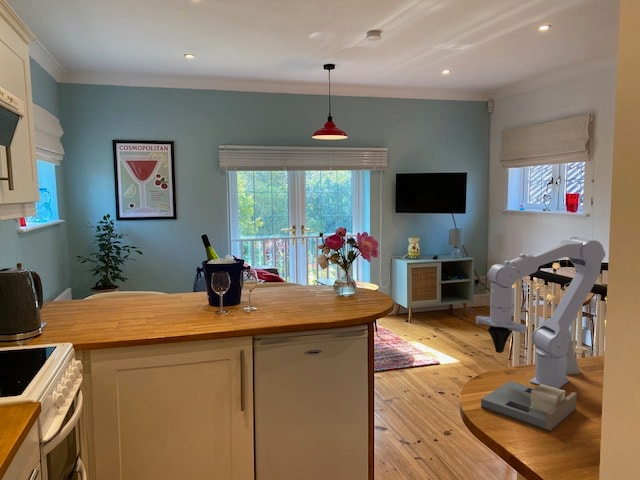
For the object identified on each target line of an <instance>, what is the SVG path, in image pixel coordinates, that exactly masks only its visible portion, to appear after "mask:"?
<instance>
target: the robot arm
mask: <svg viewBox="0 0 640 480" xmlns="http://www.w3.org/2000/svg"><path fill="white" fill-rule="evenodd" d="M605 257H606V251H605V249H604V247H603V244H602V243H600V241H598V240H594V239H593V240H592V239H586V238H579V237H578V236H571V237H570V238H568V239H563V240H561V241H560V242H559V243H557V244H555V245H553V246H551V247H549V248H546V249H544V250H541V251H540V252H538V253H536V254H534V255H532V254H530V253H520V254H518V257H515V258H513V259H511V260H504V261H503V263H496V264H493V265H491V267H490V268H489V270H488V272H487V273H486V277H487V279H488V281H489V283H490V294H489V295H490V298H489V299H490V300H489V302H490V306H489V316H482V315H477V316H476V317H475V324H478V325H479V324H482V325H486V326H489V328H488V329H487V331H488V333H489V334H490V337H491V340H492V343H493V346H494V350H495V353H498V354H502V353H503V352H504V350H505V347H506V344H507V341H508V339H509V337H510V335H511V333H512V332H517V333H519V334H523V335H524V334H526V333H527V332H528V331H527V328H528V325H527V324H526V325H525V324H522V323H519V322H516V321H513V320H512V302H513V301H512V299H513V295H512V292H513V286H514V285H515V283H516V281H517V280H521V279H522V278H525V277H527V276H530V275H532V274H535V273H536V272H538V269H539V267H540V266H543V265H546V264H549V263H552V262H555V261H558V260H561V259H563V258H567V259H568V260H569V261H570V262H571V263H572V264H573V266H574V268H575V271H576V272H575V274H574V277H573V278H572V280H571V282H570V283H569V284H568V287H567V289H566V290H565V292H564V293H563V296H562V298H561V299H560V301H559V302H558V305H557V306H556V307H555V309H554V311H553V313H552V314H551V317H550V318H549V319H546V320H544V321H542V322H541V324H540V325H539V326H538V327H537V328H536V329H534V330H533V332H532V334H531V341H532V344H533V345H534V346H535V373H534V377H533V378H531V379H530V380H529V383H531V384H534V385H538V386H539V385H540V384H543V385H547V386H550V387H554V388H557V389H560V388H562V387H564V385H565V384H567V383H568V382H569V381H571V379H570V378H567V374H566V370H567V359H566V356H565V354H566V352H567V351H568V348H569V341H570V339H573V338H572V333H571V331H570V327H571V326H572V324H573V323H574V320H575V319H576V317H577V315H578V313H579V311H580V310H581V308H582V307H583V305H584V302H585V301H586V300H587V298H588V297H589V294H590V292H591V291H592V289H593V287H594V285H595V284H596V282H597V280H598V279H599V277H600V274H601V268H602V262H603V260H604V258H605Z"/></svg>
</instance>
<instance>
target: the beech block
mask: <svg viewBox="0 0 640 480" xmlns="http://www.w3.org/2000/svg"><path fill="white" fill-rule="evenodd" d="M534 388H535V389H533V390H532V391H531V406H532V407H535V408H538V409H541V410H545V411H548V412H549V411H550V410H551V409H552V408H554V407H555V406H556V405H557V404H558V403H560V402H561V401H562V400H563V399H565V397H566V390H564V389H560V388H559V389H557V388H554V387H550V386H547V385H543V384H540V385H538V386H536V387H534Z"/></svg>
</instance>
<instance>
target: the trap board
mask: <svg viewBox="0 0 640 480" xmlns="http://www.w3.org/2000/svg"><path fill="white" fill-rule="evenodd" d="M535 388H536V387H532V386H529V385H525V384H522V383H520V382H515V381H512V380H509V381H507V382H505V383H504V384H502V385H501V386H499V387H497V388H495V390H493V391H491V392H490V393H488V394H486V395H484V396H483V397H481V399H480V401H481V402H480V408H481V409H484V410H487V411H489V412H492V413H496V414H497V415H501V416H504V417H506V418H510V419H512V420H514V421H517V422H521V423H523V424H525V425H529V426H531V427H535V428H537V429H540V430H543V431H545V432H549V433H551V432H553V431H554V430H555V429H556V428H557V427H558V426H559V425H561V424H562V422H564V421H565V420H566V419H567V418H569V417H570V416H571V415H572V414H573V413H574V412H576V410H577V401H578V400H577V397H578V396H577V395H578V394H577V392H574V391H572V392H571V393H569V394H568V395H567V396H565V399H563V400H562V401H561V402H560V403H558V404H557V405H556V406H555V407H554V408H552V409H551V410H550V411H549V412H548V411H545V410H541V409H538V408H535V407H532V406H531V391H532V390H533V389H535Z"/></svg>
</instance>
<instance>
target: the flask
mask: <svg viewBox="0 0 640 480" xmlns="http://www.w3.org/2000/svg"><path fill="white" fill-rule="evenodd" d="M574 342H575V340H574V339H573V338H571V339H570V341H569V348H568V351H567V352H566V354H565V356H566V359H567V370H566V375H580V373H581V369H580V366H579V364H578V363H579V362H578V361H577V358H576V355H575V352H574V347H573V346H574Z"/></svg>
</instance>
